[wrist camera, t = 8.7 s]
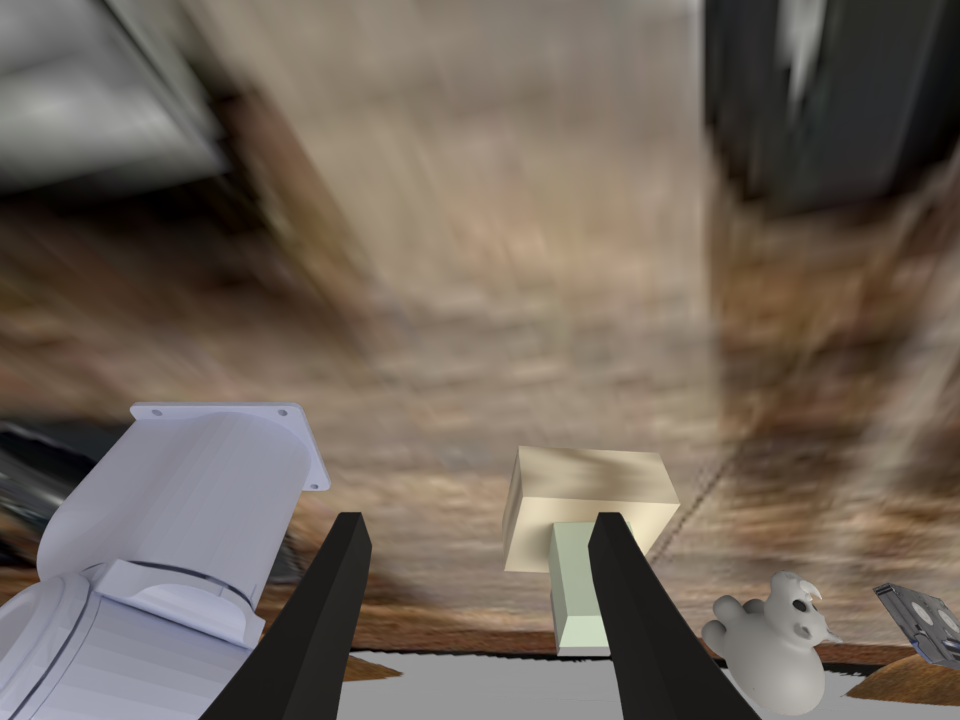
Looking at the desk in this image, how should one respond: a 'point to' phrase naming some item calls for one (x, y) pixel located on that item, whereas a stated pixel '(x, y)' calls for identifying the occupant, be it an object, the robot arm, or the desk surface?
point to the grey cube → (576, 650)
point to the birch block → (581, 498)
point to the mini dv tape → (924, 623)
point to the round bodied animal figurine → (773, 645)
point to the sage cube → (575, 586)
